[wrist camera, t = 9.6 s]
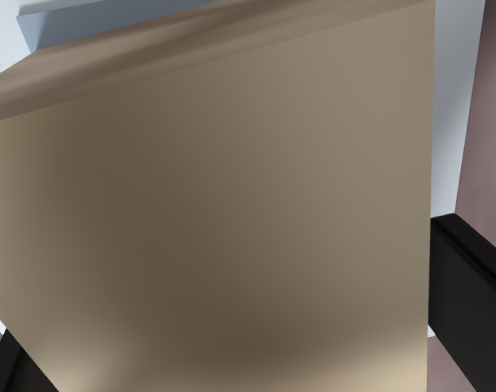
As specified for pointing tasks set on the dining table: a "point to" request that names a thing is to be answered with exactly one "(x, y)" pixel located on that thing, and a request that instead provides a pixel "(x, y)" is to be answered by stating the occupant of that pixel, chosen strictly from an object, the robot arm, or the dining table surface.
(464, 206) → the dining table surface
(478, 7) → the board
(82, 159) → the oak block
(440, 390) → the dining table surface
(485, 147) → the dining table surface
